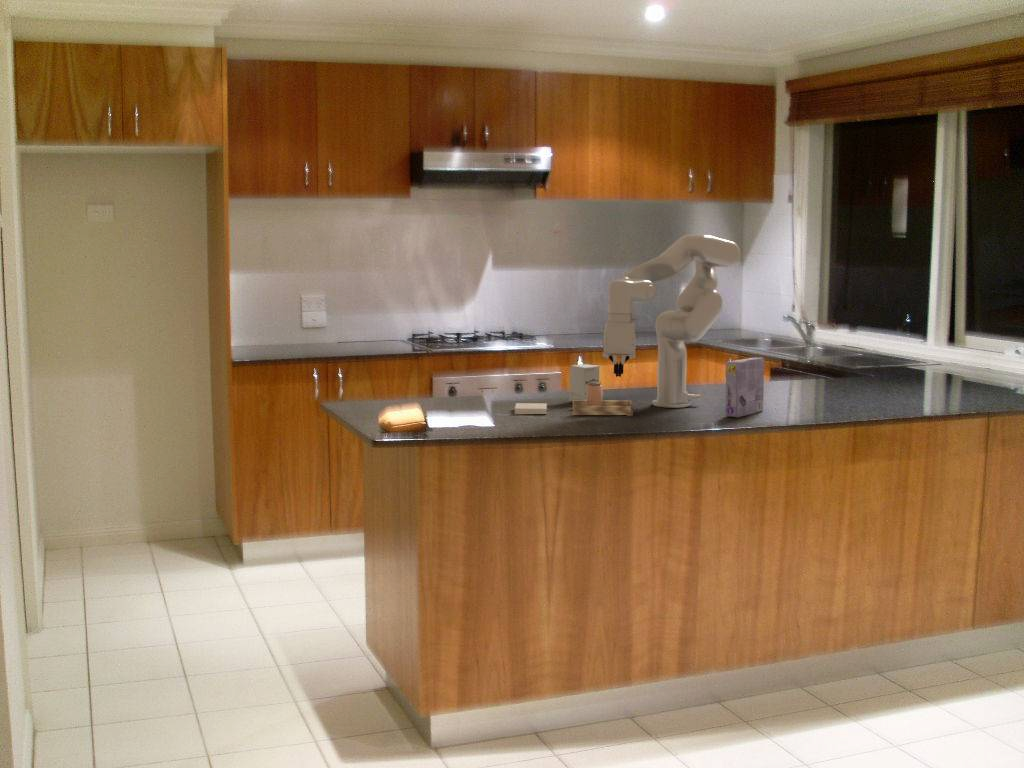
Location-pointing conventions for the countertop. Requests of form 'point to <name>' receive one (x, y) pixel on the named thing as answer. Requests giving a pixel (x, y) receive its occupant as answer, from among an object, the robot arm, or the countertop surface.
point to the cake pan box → (744, 387)
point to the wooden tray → (603, 408)
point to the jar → (594, 394)
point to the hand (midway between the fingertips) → (618, 376)
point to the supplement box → (582, 380)
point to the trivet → (530, 408)
